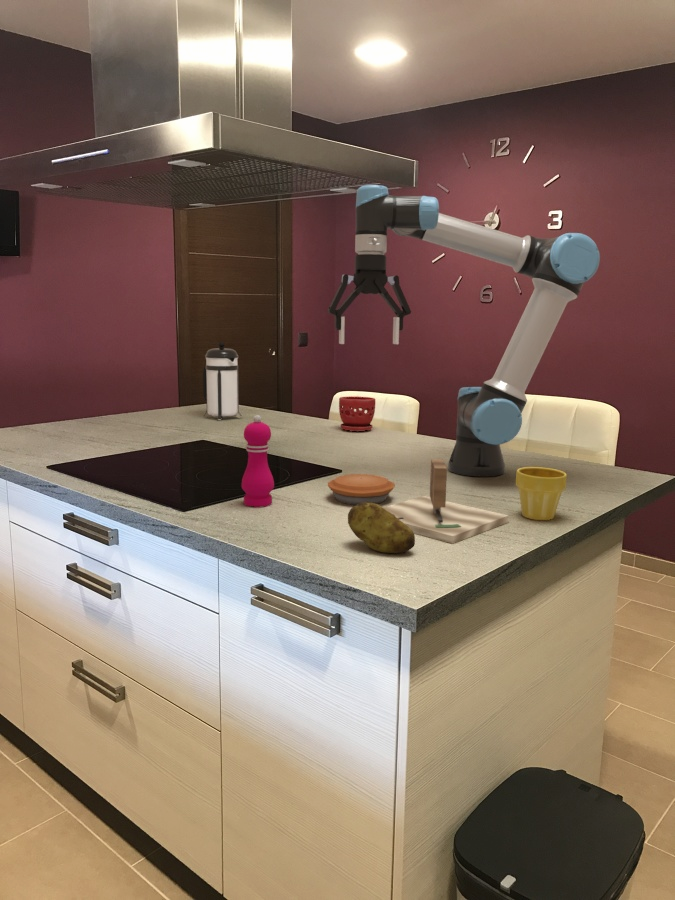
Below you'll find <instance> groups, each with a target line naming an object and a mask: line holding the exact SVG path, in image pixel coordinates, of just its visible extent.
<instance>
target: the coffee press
mask: <svg viewBox="0 0 675 900" xmlns="http://www.w3.org/2000/svg"><path fill="white" fill-rule="evenodd" d="M218 346H219V347H218V348H211V349H210V348H209V349H208V350H207V351H206V354H204V357H205V360H206V362H205V363H206V364H205V366H204V368H203V370H202V372H203V373H202V384H203V385H202V388H203V397H204V400H205V401H206V411H205V413H204V415H203V417H204V416H205V417H206V414H208V416H209V417H210V416H211V417H217V420H218V419H221V418H222V419H223V417H231V416H232V417H236V416H237V414H239V417H241V416H242V414H241V413H240V410H239V409H240V408H239V407H240V405H239V404H240V403H239V396H240V395H239V364H238V359H239V355H238V353H237V351H236V350H234V349H233V348H225V343H224V342H223V341H219V343H218ZM242 417H243V416H242Z"/></svg>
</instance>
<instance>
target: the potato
mask: <svg viewBox="0 0 675 900" xmlns="http://www.w3.org/2000/svg"><path fill="white" fill-rule="evenodd" d="M383 507H384V506H381V505H380V504H379V503H378V504H375V503H370V502H364V503H360V504H358V505H354V506H353V507H351V509H349V511H348V513H347V524H348V526H349V528H350V531H352V532H353V534H354V535H355V537H357V538H358V539H359V540H360V541H363V542H364V543H365V545H366V546H368V548H369V549H371V550H374V551H376V552H380V553H384V554H386V553H387V554H399V553H401V554H404V553H406V552H408V551H410V550H412V549H413V548H414V547H415V545H416V537H415V533H413V531H412V530H411V529H410V528H409V527H408V526H407V525H406V524H404V523H403V522H402V521H400V520H399V519H398V518H396V517H395V515H394V514H391V513H390V512H388V511H387V510H385V509H384V508H383Z"/></svg>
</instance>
